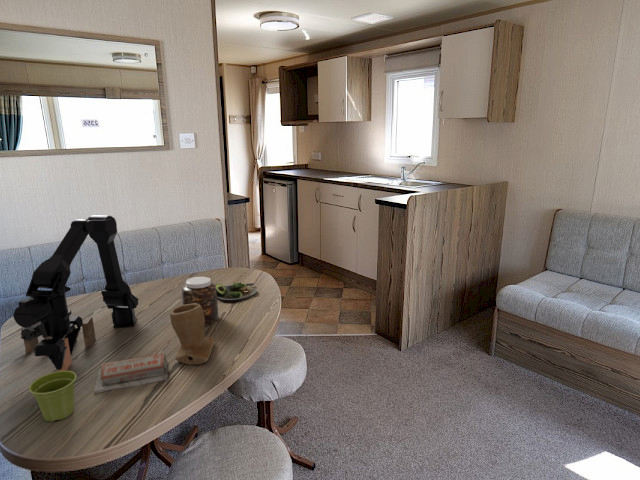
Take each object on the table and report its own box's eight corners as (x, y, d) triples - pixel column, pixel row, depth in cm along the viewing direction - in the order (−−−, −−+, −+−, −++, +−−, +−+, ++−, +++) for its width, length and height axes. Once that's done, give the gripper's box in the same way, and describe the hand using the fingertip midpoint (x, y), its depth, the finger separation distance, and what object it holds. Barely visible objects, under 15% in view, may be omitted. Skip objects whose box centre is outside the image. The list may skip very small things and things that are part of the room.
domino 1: (39, 344, 132) (34, 321, 130) (32, 352, 127) (27, 328, 125) (33, 345, 132) (29, 322, 130) (26, 353, 127) (21, 329, 125)
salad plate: (243, 282, 187) (242, 272, 186) (267, 293, 175) (267, 282, 174) (204, 294, 174) (203, 283, 173) (227, 306, 162) (226, 295, 161)
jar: (217, 311, 156) (214, 273, 152) (219, 324, 145) (217, 284, 142) (184, 315, 153) (180, 276, 149) (184, 329, 142) (180, 288, 138)
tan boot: (180, 342, 133) (175, 298, 129) (217, 341, 134) (214, 297, 130) (165, 368, 118) (160, 319, 115) (207, 367, 119) (203, 318, 115)
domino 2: (71, 362, 122) (67, 337, 120) (65, 372, 117) (61, 346, 115) (65, 363, 121) (61, 338, 119) (59, 372, 117) (54, 346, 115)
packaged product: (166, 348, 121) (166, 365, 112) (168, 363, 122) (168, 381, 113) (97, 359, 115) (91, 378, 106) (99, 374, 116) (93, 395, 107)
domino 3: (95, 339, 135) (92, 316, 133) (90, 346, 131) (87, 323, 129) (90, 339, 135) (86, 317, 133) (85, 347, 130) (81, 323, 128)
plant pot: (25, 421, 97) (19, 388, 95) (63, 398, 105) (57, 367, 103) (54, 431, 94) (48, 397, 91) (90, 406, 102) (85, 374, 100)
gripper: (38, 301, 122) (46, 349, 126) (5, 329, 104) (17, 384, 108) (79, 297, 124) (87, 345, 128) (54, 325, 107) (64, 379, 111)
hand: (64, 362), depth 119 cm, fingers open, 7 cm apart
